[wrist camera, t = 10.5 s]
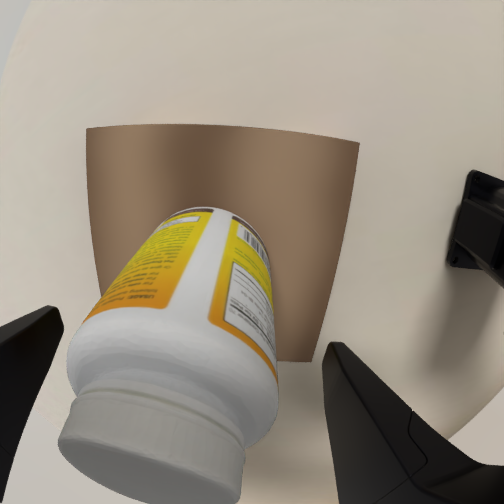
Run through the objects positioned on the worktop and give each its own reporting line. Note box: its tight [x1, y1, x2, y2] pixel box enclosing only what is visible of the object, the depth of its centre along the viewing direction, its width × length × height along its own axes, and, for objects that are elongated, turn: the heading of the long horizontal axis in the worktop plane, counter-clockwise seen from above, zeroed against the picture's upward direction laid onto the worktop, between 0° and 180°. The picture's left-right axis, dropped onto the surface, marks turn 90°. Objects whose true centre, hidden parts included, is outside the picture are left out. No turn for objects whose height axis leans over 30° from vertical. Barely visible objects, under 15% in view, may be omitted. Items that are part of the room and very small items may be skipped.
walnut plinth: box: [86, 124, 360, 362], centre depth 15 cm, size 12×12×3 cm
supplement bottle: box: [58, 207, 279, 504], centre depth 9 cm, size 6×6×10 cm
